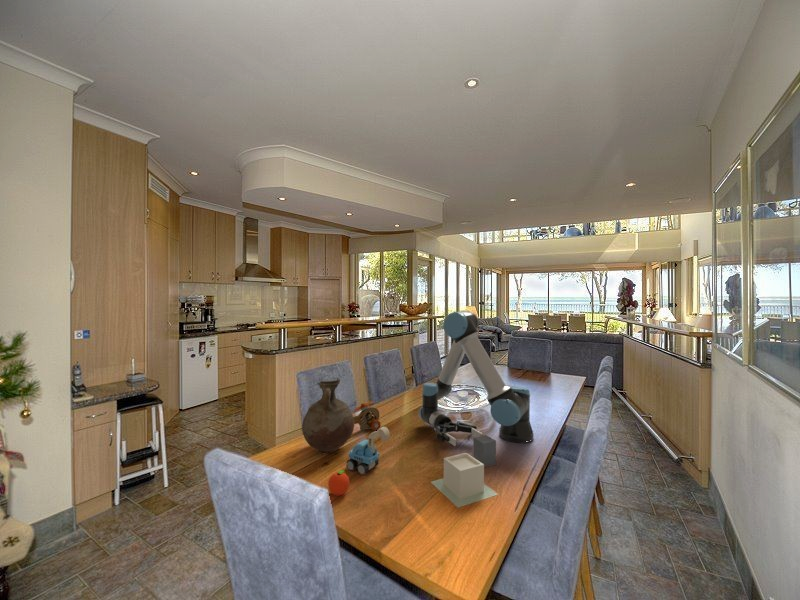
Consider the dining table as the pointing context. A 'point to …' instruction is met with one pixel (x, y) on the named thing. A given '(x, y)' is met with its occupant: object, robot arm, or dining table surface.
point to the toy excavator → (366, 452)
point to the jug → (328, 421)
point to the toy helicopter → (367, 417)
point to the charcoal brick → (485, 450)
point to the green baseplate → (467, 500)
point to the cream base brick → (463, 475)
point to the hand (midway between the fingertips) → (468, 439)
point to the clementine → (338, 483)
